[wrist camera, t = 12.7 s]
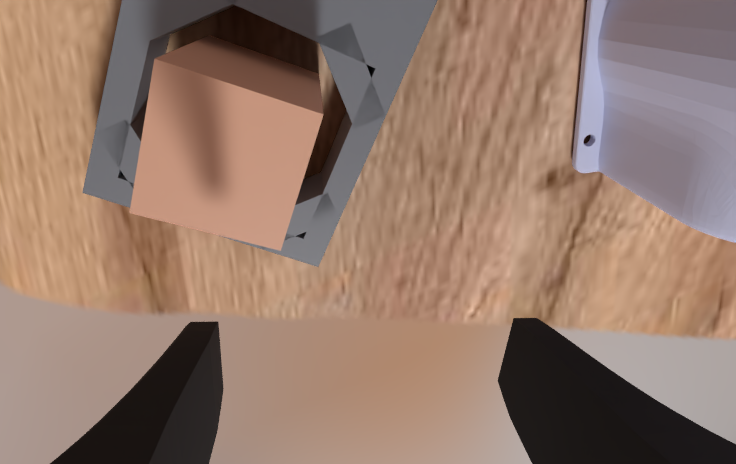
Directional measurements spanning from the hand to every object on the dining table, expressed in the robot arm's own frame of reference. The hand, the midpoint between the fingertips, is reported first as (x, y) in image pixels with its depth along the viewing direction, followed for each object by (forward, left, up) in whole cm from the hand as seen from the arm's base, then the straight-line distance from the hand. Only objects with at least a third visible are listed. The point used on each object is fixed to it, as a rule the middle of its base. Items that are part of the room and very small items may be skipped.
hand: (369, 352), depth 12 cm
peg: (+4, +3, -10) cm, 12 cm away
